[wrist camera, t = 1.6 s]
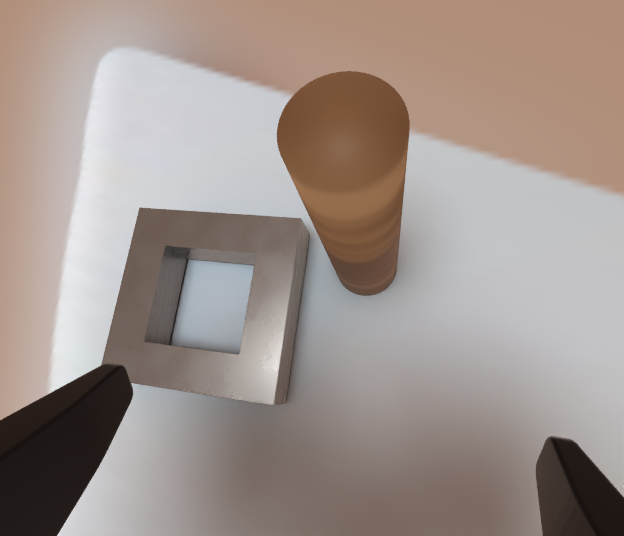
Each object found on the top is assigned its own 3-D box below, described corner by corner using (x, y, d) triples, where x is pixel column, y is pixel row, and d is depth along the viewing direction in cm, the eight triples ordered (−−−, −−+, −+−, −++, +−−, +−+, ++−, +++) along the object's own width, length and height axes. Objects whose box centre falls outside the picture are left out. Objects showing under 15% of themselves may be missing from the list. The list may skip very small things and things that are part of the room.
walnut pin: (394, 298, 22) (404, 193, 10) (332, 292, 23) (267, 186, 10) (399, 239, 23) (414, 71, 10) (340, 235, 23) (287, 71, 11)
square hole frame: (285, 402, 22) (273, 405, 19) (127, 377, 23) (98, 377, 21) (309, 234, 24) (300, 218, 21) (162, 223, 25) (139, 207, 23)
